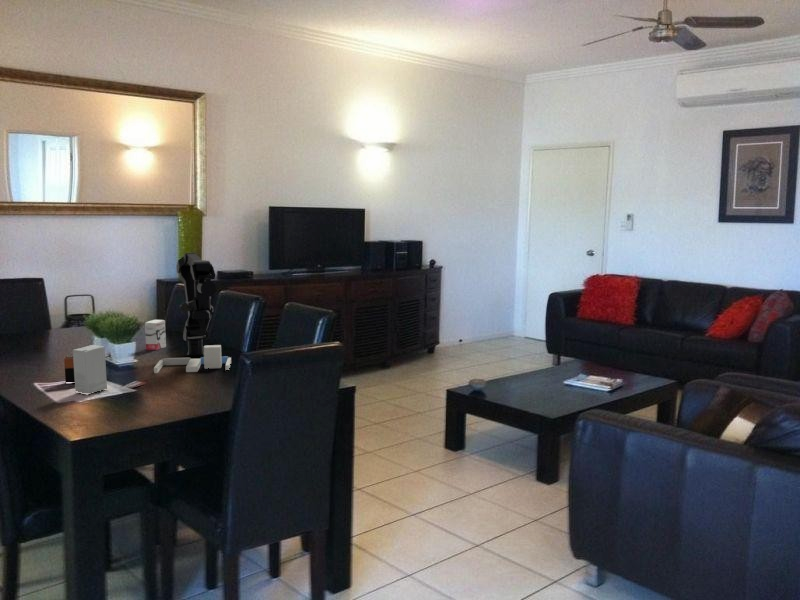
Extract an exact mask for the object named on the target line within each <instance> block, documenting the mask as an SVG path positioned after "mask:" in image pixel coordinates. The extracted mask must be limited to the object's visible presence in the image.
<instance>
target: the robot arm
mask: <svg viewBox="0 0 800 600" xmlns="http://www.w3.org/2000/svg"><path fill="white" fill-rule="evenodd" d="M176 274H178V279H179V280H180V281H181V282H182V284H183V285H184V293H185V301H184V302H182V303H181V304H180V305H179V310H180V311H181V314H183V315H184V314H186V313H187V315H188V318H187V320H186V321H185V325H184V328H183V332H182V333H183V334H182V337H183V338H182V339H183V340H184V341H185V342H187V349H188V350H187V354H186V356H187V357H192V356H193V357H194V356H195V357H197V356H204V346H203V345H204V344H203V342H204V341H203V340H208V331H209V326H210V325H209V324H210V321H211V319H212V317H213V316H212V314H213V313H214V306H213V305H212V304H211V299H212V296H214V295H215V293H216V292H217V286H216V284H215V283H214V282H213V281H212V280H215V277H216V272H215V269H214V266H213V264H212V263H211V261H210V260H202V258H201V257H199V256H198V253H197V252H185V253H184V254H183V256H182V257H181V258H180V259H178V260H177V263H176ZM211 313H212V314H211Z"/></svg>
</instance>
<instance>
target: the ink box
mask: <svg viewBox="0 0 800 600" xmlns="http://www.w3.org/2000/svg"><path fill="white" fill-rule="evenodd" d="M144 333H145V350H146V351H157V350H161V349H163V348H166V347H167V341H166V337H167V335H166V320H164V319H152V320H149V321H146V322H145V323H144Z"/></svg>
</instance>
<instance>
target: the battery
mask: <svg viewBox="0 0 800 600" xmlns="http://www.w3.org/2000/svg"><path fill="white" fill-rule="evenodd" d="M63 360H64V361H63V363H64V377H65V383H66V382H75V377H74V361H73V353H72V354H70V353H69V354H66V356H65V357H64V359H63Z"/></svg>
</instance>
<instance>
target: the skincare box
mask: <svg viewBox="0 0 800 600" xmlns="http://www.w3.org/2000/svg"><path fill="white" fill-rule="evenodd" d="M72 356H73V361H74V377H75V384H74V389H75V391H78V392H82V393H92V392H96V391H100V390H103V391H105V390H104V389H106V390H108V382H107V381H108V380H107V366H106V365H107V364H106V348H105V346H103V345H98V344H90V345H87V346H83V347H80V348H79V347H78V348H75V349H72ZM75 391H74V392H75ZM100 392H101V391H100Z"/></svg>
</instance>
